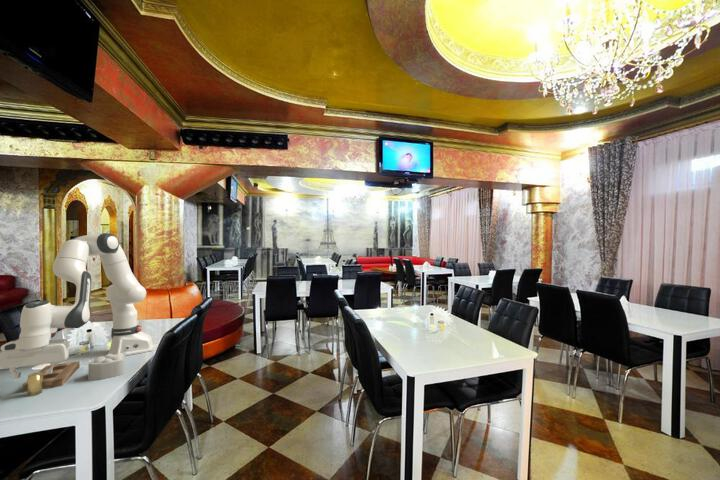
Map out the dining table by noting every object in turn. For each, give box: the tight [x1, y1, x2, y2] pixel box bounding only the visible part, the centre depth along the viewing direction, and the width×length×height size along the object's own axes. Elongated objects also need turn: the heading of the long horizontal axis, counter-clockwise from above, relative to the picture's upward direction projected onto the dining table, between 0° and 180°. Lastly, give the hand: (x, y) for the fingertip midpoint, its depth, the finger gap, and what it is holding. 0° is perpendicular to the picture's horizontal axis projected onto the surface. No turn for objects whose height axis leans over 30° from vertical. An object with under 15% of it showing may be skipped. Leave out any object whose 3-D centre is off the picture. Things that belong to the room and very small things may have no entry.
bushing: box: [27, 371, 43, 397], centre depth 121 cm, size 4×4×8 cm
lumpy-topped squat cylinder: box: [87, 353, 126, 381], centre depth 139 cm, size 10×13×9 cm
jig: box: [22, 360, 81, 393], centre depth 134 cm, size 12×22×3 cm, turn 29°
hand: (33, 375), depth 121 cm, fingers open, 8 cm apart
